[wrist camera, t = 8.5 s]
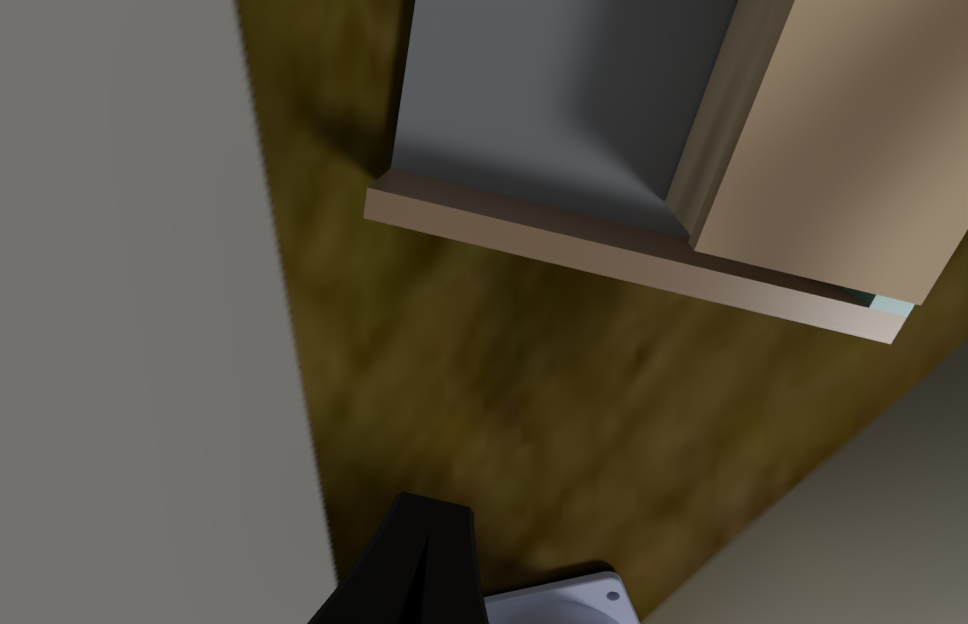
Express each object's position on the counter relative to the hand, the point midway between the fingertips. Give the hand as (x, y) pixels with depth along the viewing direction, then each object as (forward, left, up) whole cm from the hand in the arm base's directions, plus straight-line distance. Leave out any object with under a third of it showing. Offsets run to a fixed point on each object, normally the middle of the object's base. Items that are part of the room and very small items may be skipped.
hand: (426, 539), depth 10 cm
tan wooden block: (+3, -10, -9) cm, 14 cm away
